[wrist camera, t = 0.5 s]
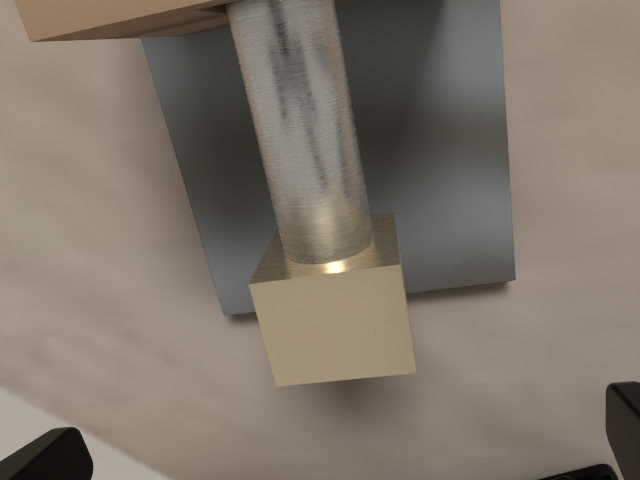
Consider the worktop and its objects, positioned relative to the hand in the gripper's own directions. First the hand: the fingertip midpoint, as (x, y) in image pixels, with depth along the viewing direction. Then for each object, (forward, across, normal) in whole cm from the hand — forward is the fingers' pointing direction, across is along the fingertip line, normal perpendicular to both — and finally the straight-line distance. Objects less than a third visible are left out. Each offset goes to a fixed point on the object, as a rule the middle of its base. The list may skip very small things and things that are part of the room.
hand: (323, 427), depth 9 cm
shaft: (+7, 0, -7) cm, 10 cm away
